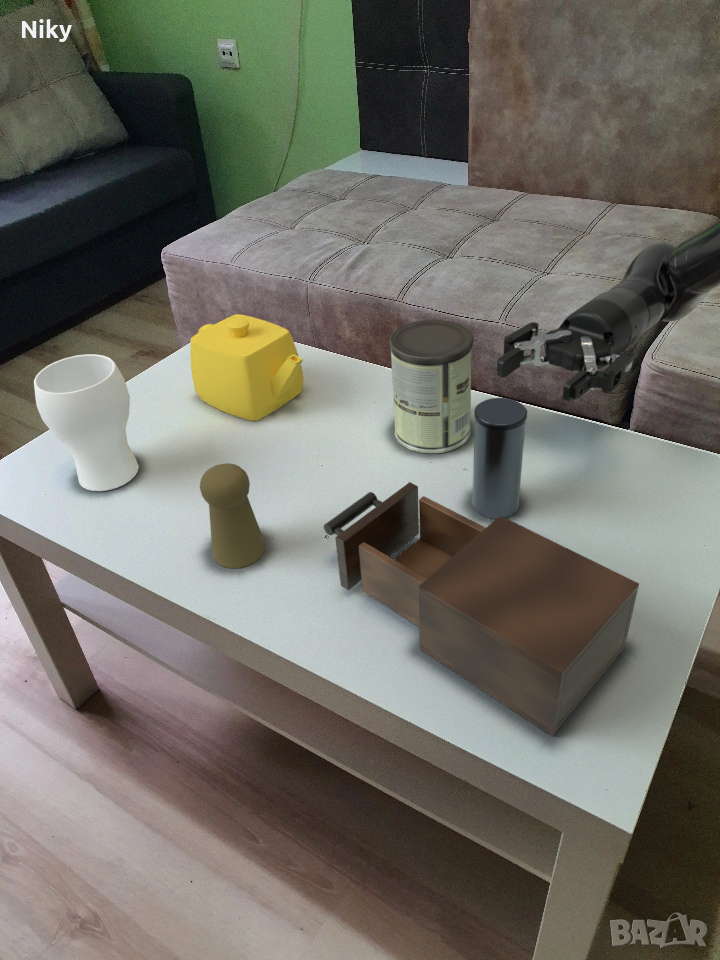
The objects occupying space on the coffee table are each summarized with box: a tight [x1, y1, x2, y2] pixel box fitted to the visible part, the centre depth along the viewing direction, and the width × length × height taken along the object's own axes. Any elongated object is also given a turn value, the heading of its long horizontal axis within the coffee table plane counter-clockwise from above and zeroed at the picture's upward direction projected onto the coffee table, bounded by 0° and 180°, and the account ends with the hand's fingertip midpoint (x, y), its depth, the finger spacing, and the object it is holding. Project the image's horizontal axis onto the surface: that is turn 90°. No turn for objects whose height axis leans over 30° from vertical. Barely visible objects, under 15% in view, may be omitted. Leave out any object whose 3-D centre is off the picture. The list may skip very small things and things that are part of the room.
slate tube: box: [471, 397, 528, 520], centre depth 85 cm, size 6×6×13 cm
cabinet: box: [418, 516, 640, 737], centre depth 69 cm, size 15×13×9 cm
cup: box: [33, 353, 139, 492], centre depth 94 cm, size 11×11×15 cm
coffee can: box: [388, 319, 474, 454], centre depth 97 cm, size 10×10×14 cm
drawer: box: [323, 482, 487, 628], centre depth 77 cm, size 18×11×7 cm, turn 47°
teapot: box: [190, 313, 304, 422], centre depth 108 cm, size 20×12×12 cm, turn 51°
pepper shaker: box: [199, 462, 267, 569], centre depth 82 cm, size 6×6×11 cm
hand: (532, 381), depth 84 cm, fingers open, 8 cm apart
